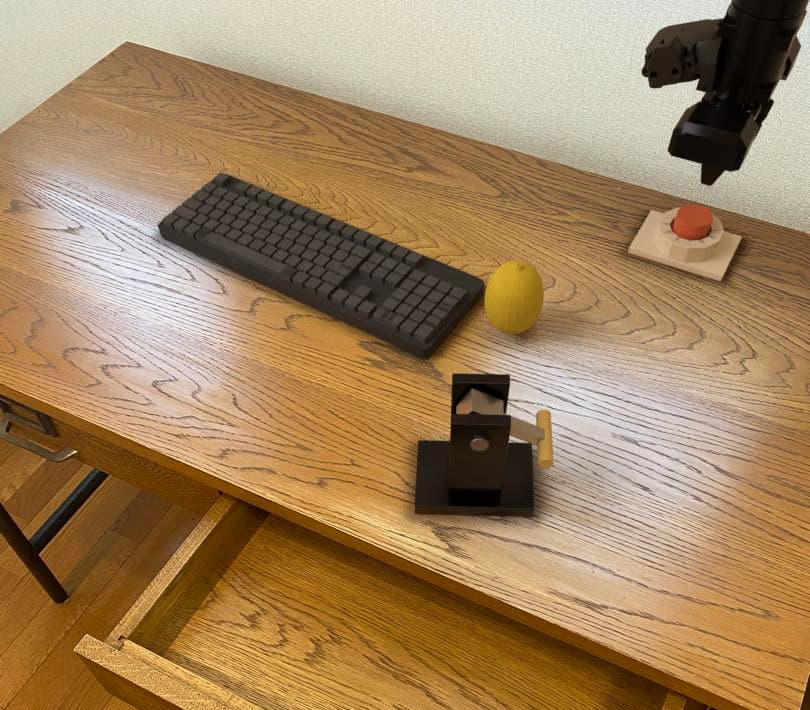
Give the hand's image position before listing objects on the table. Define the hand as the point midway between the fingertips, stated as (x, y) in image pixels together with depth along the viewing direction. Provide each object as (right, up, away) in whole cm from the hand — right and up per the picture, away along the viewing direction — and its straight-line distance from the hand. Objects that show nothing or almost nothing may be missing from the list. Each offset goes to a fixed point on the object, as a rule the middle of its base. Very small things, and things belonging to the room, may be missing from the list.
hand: (706, 182), depth 73 cm
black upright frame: (-24, -30, -8) cm, 39 cm away
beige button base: (0, -4, +6) cm, 8 cm away
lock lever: (-22, -26, -14) cm, 37 cm away
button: (0, -3, +5) cm, 5 cm away
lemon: (-19, -14, +1) cm, 24 cm away
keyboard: (-39, -5, +7) cm, 40 cm away
